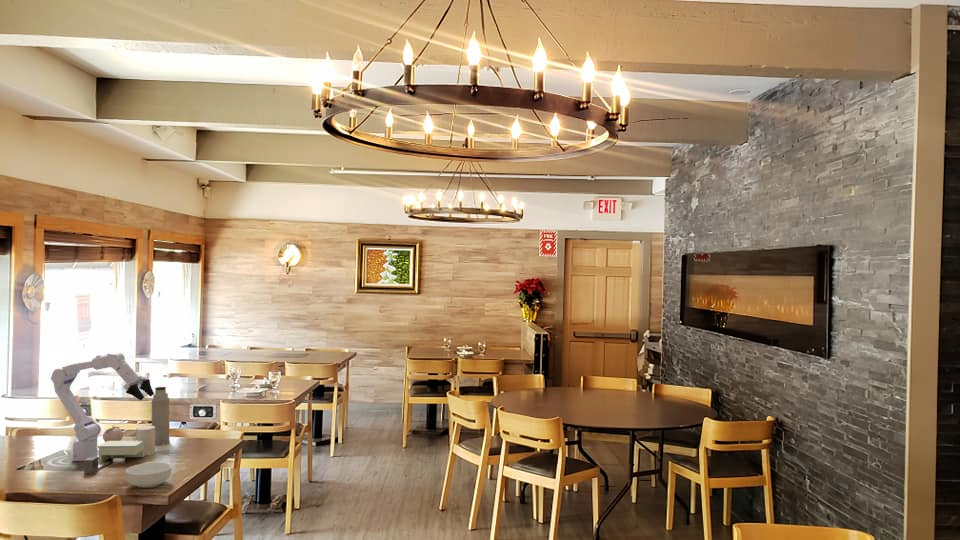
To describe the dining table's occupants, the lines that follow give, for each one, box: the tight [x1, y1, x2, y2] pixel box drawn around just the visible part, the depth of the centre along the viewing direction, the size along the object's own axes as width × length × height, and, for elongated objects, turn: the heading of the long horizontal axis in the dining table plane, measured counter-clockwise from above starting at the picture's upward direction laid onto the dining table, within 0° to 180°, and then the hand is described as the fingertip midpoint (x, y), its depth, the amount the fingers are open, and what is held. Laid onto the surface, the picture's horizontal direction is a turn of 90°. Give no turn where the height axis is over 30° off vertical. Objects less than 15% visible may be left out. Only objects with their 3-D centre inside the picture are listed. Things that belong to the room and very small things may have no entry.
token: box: [112, 456, 126, 465], centre depth 318 cm, size 5×5×2 cm
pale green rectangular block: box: [97, 440, 145, 464], centre depth 322 cm, size 17×10×8 cm, turn 93°
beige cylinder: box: [135, 425, 156, 456], centre depth 334 cm, size 8×8×12 cm
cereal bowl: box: [124, 461, 173, 488], centre depth 286 cm, size 17×17×7 cm
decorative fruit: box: [102, 426, 124, 443], centre depth 346 cm, size 9×8×10 cm
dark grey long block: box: [83, 457, 110, 475], centre depth 308 cm, size 4×16×6 cm, turn 3°
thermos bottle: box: [151, 386, 170, 446], centre depth 352 cm, size 8×8×28 cm
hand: (147, 396), depth 321 cm, fingers open, 7 cm apart
